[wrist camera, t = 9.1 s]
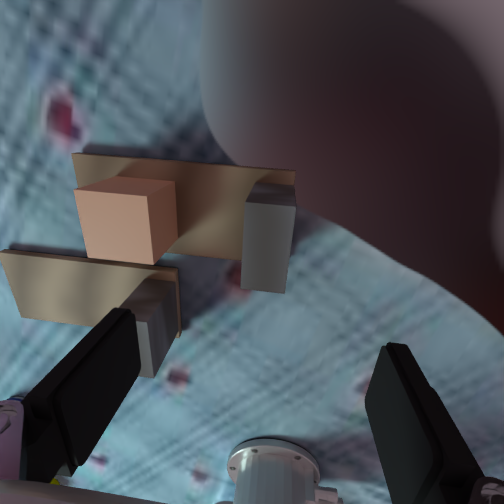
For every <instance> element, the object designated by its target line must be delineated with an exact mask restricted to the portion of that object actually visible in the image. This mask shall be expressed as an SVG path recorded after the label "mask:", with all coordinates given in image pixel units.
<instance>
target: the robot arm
mask: <svg viewBox="0 0 504 504" xmlns="http://www.w3.org/2000/svg"><path fill="white" fill-rule="evenodd" d="M140 371H141V358H140V350H139V342H138V333H137V325H136V317H135V314H134V313H132V312H131V310H130V309H126V308H118V307H115V308H113V309H112V310H111V311H110V312H109V313H108V314H107V315H106V316H105V317H104V318H103V319H102V320H101V321H100V322H99V323H98V324H97V325H96V326H95V327H94V328H93V329H92V330H91V331H90V332H89V333H88V334H87V335H86V336H85V337H84V338H83V339H82V340H81V341H80V342H79V343H78V344H77V345H76V346H75V347H74V348H73V349H72V350H71V351H70V352H69V353H68V354H67V355H66V356H65V357H64V358H63V359H62V360H61V361H60V362H59V363H58V364H57V365H56V366H55V367H54V368H53V369H52V370H51V371H50V372H49V373H48V374H47V375H46V376H45V377H44V378H43V379H42V380H41V381H40V382H39V383H38V384H37V385H36V386H35V387H34V388H33V389H32V390H31V391H30V392H29V393H28V394H27V396H26V397H25V398H24V399H23V400H22V401H21V402H19V401H15V400H3V401H0V504H166V503H161V502H155V501H150V500H144V499H138V498H133V497H127V496H121V495H116V494H110V493H104V492H99V491H93V490H87V489H81V488H75V487H68V486H62V485H55V484H49V483H51V481H52V480H53V478H54V477H55V475H56V474H57V475H62V476H68V477H72V475H73V474H74V472H75V471H76V469H77V467H78V466H82V465H83V464H84V463H85V462H86V460H87V459H88V457H89V456H90V454H91V452H92V451H93V449H94V447H95V446H96V444H97V443H98V441H99V439H100V438H101V436H102V434H103V433H104V431H105V429H106V428H107V426H108V425H109V423H110V421H111V420H112V418H113V416H114V415H115V413H116V411H117V410H118V408H119V407H120V405H121V403H122V402H123V400H124V398H125V397H126V395H127V393H128V392H129V390H130V389H131V387H132V385H133V384H134V382H135V380H136V379H137V377H138V375H139V374H140ZM365 408H366V412H367V416H368V419H369V423H370V426H371V430H372V433H373V437H374V440H375V444H376V447H377V451H378V454H379V458H380V462H381V465H382V469H383V472H384V476H385V479H386V483H387V486H388V490H389V493H390V497H391V500H392V504H504V481H503V480H500V479H497V478H494V477H486V476H484V474H483V472H482V470H481V469H480V467H479V465H478V463H477V462H476V460H475V458H474V456H473V455H472V453H471V451H470V449H469V448H468V446H467V444H466V442H465V441H464V439H463V437H462V436H461V434H460V432H459V430H458V429H457V427H456V425H455V423H454V422H453V420H452V418H451V416H450V415H449V413H448V411H447V409H446V408H445V406H444V404H443V402H442V401H441V399H440V397H439V395H438V394H437V392H436V391H435V390H434V389H433V388H432V387H430V385H429V383H428V381H427V379H426V378H425V376H424V374H423V372H422V371H421V369H420V367H419V365H418V363H417V362H416V360H415V358H414V356H413V355H412V353H411V351H410V349H409V347H408V346H407V345H406V344H399V343H391V342H389V343H387V345H386V346H382V347H381V350H380V353H379V356H378V359H377V362H376V365H375V368H374V372H373V375H372V378H371V381H370V384H369V387H368V390H367V393H366V396H365ZM227 471H228V474H229V476H230V478H231V479H232V481H233V482H234V483H235V484H236V487H235V494H234V501H233V504H344V503H343V499H342V498H340V497H338V493H337V489H336V488H330V487H320V486H318V484H319V481H320V472H319V466H318V464H317V461H316V460H315V459H314V457H313V456H312V455H311V454H309V453H308V452H307V451H306V450H304V449H303V448H301V447H299V446H297V445H295V444H292V443H289V442H286V441H282V440H276V439H255V440H251V441H247V442H244V443H242V444H240V445H238V446H237V447H235V448H234V449H233V450H232V452H231V453H230V455H229V458H228V464H227Z"/></svg>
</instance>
